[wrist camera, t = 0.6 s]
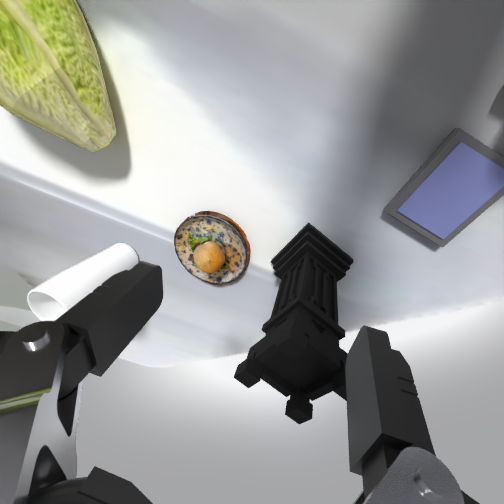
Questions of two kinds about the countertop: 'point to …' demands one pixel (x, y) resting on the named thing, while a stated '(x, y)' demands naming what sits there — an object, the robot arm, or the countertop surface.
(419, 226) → the ink pad
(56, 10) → the lettuce
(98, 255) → the drinking glass
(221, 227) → the burger
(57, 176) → the countertop surface
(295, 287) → the chess piece
